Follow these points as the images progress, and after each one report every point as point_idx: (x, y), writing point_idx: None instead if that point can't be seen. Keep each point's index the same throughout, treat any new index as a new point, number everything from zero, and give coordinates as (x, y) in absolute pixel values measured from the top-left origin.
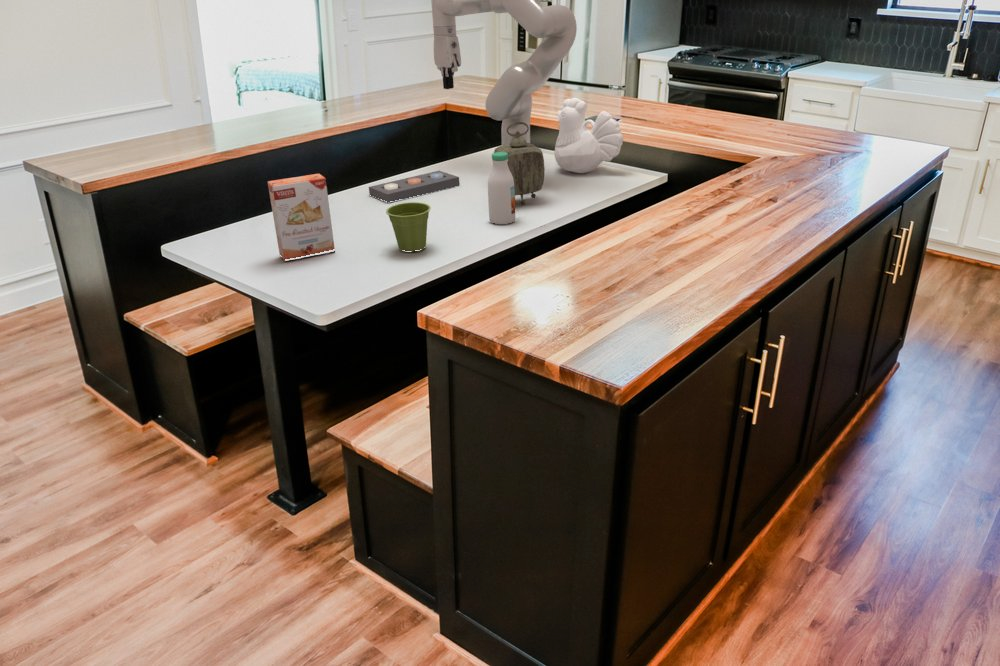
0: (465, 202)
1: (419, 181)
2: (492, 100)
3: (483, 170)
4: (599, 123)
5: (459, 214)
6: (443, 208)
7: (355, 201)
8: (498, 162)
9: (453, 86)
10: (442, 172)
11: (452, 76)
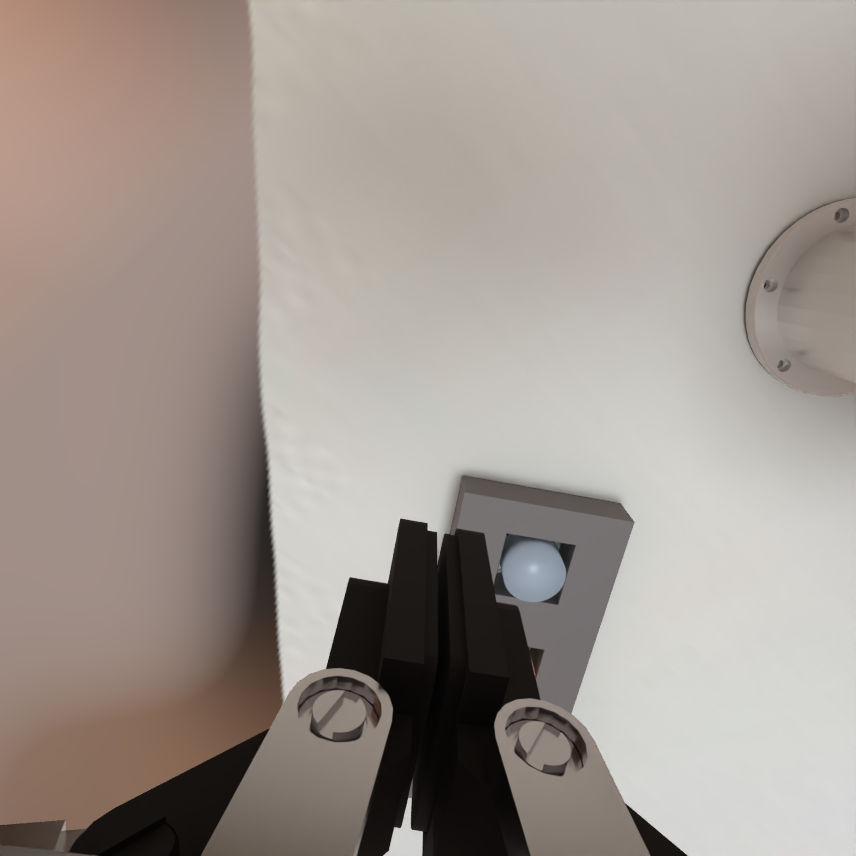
0: (788, 647)
1: (534, 672)
2: None
3: (548, 230)
4: None
5: (847, 743)
6: (752, 729)
7: (410, 821)
8: None
9: (483, 542)
10: (505, 507)
11: (504, 686)
